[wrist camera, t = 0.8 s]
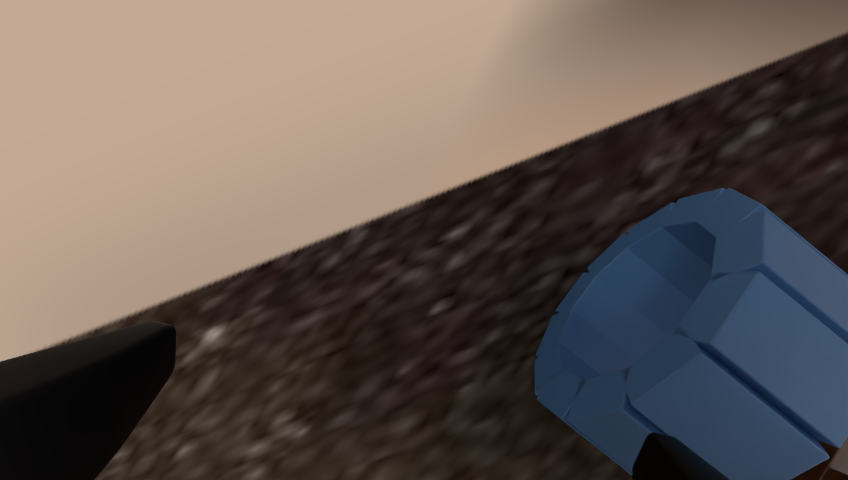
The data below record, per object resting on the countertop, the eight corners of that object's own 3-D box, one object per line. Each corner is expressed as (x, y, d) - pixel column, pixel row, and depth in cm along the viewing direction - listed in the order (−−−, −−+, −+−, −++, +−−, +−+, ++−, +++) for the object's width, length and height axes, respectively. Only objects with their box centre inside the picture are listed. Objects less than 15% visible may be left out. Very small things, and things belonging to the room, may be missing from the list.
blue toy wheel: (578, 432, 23) (762, 580, 12) (507, 375, 23) (625, 471, 12) (693, 266, 24) (954, 259, 13) (626, 211, 24) (833, 158, 13)
